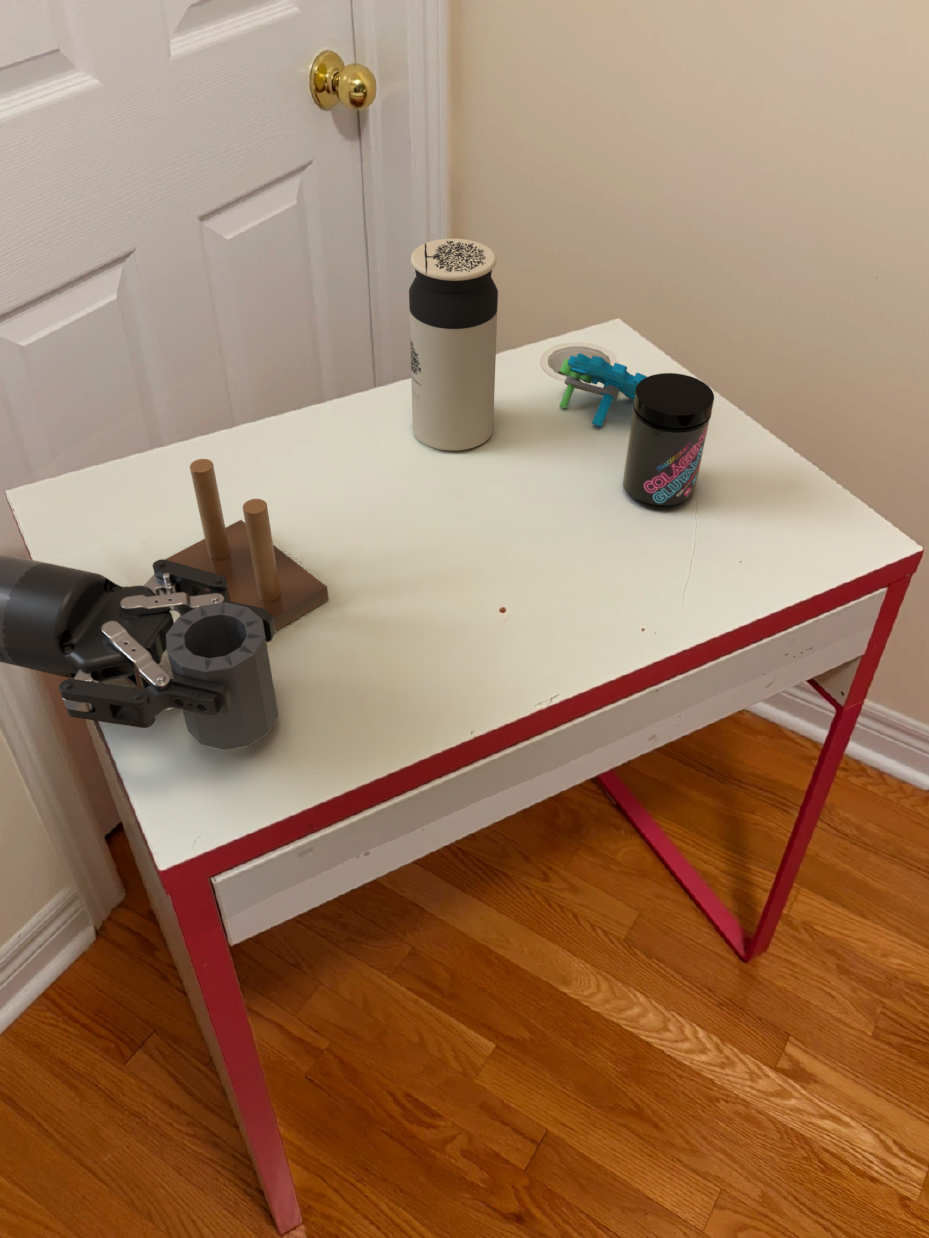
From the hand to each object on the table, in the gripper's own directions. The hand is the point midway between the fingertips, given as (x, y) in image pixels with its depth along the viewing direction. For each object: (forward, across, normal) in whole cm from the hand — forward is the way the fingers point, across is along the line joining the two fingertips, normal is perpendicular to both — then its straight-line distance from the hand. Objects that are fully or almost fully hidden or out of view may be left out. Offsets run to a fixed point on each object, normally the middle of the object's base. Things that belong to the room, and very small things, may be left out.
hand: (251, 662), depth 71 cm
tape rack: (-8, +14, +7) cm, 18 cm away
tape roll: (-2, 0, +6) cm, 6 cm away
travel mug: (+2, +41, +7) cm, 42 cm away
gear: (+16, +49, +7) cm, 52 cm away
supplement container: (+23, +37, +7) cm, 44 cm away
